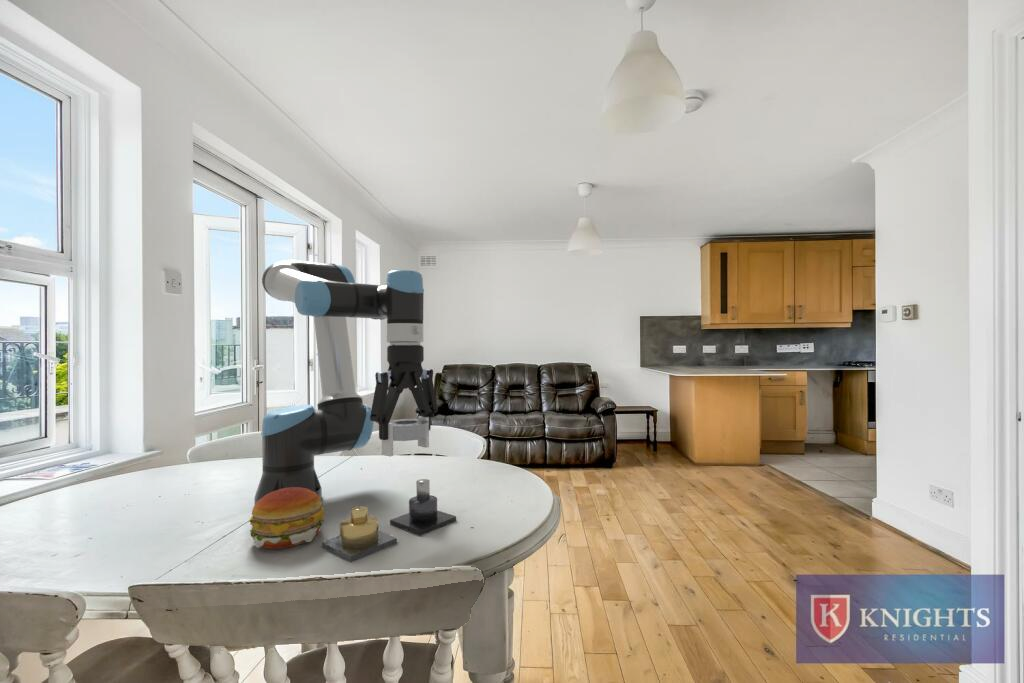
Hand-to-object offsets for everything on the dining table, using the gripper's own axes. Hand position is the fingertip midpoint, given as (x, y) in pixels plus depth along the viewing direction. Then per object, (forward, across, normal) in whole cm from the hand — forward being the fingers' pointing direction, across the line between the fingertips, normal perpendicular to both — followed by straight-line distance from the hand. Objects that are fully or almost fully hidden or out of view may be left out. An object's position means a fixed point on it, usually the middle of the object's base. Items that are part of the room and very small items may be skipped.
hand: (406, 450), depth 97 cm
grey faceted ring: (-3, 0, 0) cm, 3 cm away
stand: (+16, +4, -1) cm, 17 cm away
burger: (+17, -17, +15) cm, 28 cm away
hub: (+16, -11, +1) cm, 20 cm away
